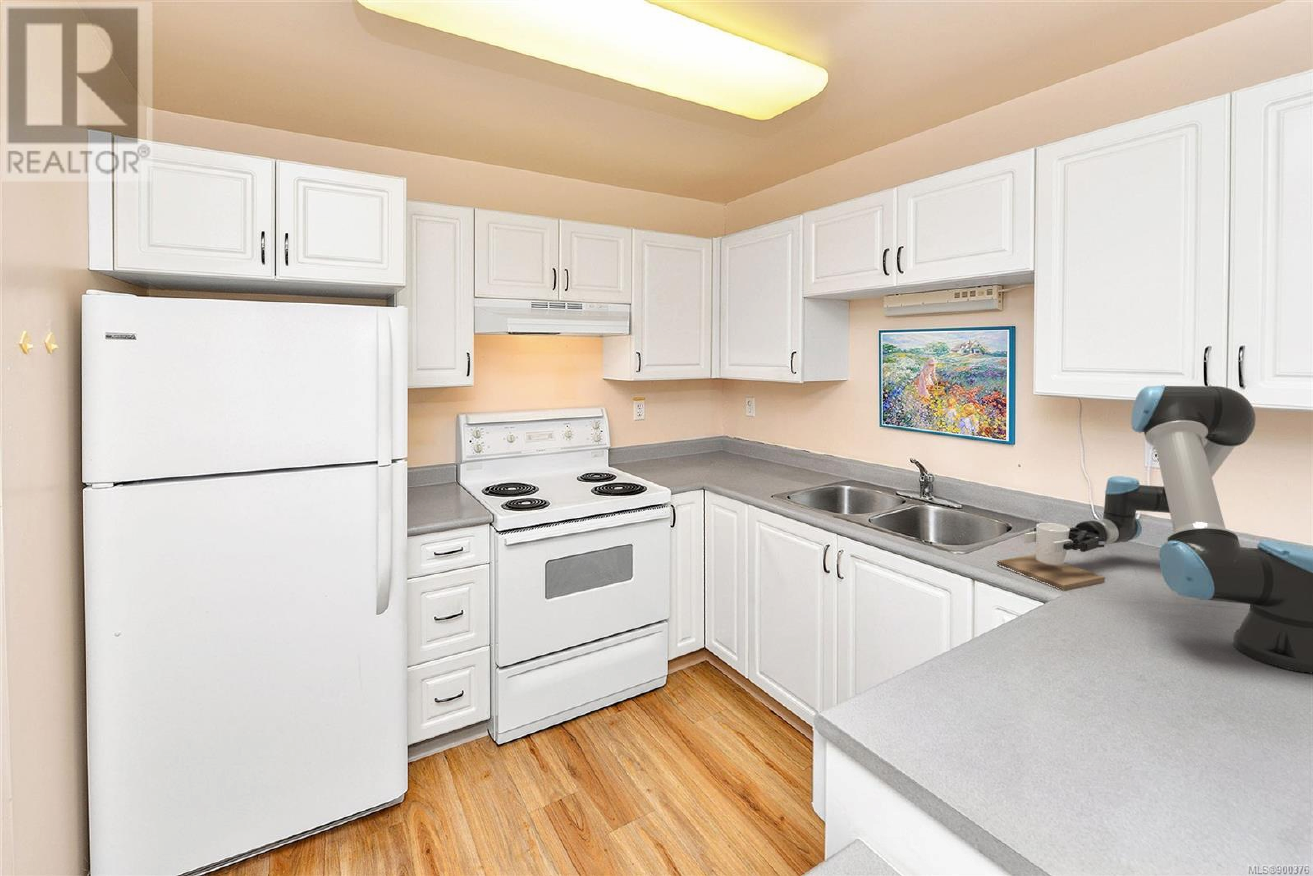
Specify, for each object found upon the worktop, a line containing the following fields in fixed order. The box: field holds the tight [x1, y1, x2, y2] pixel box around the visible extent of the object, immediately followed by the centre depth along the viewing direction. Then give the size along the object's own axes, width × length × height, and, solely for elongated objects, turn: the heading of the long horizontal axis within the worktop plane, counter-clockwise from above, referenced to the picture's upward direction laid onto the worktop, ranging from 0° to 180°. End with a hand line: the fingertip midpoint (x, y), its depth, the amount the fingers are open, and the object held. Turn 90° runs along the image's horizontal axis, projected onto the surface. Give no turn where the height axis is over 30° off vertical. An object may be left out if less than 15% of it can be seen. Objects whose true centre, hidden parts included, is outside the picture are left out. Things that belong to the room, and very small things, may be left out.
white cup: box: [1035, 522, 1070, 565], centre depth 170 cm, size 8×8×10 cm
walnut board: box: [996, 553, 1106, 591], centre depth 171 cm, size 20×16×2 cm
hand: (1039, 542), depth 168 cm, fingers closed on white cup, 8 cm apart
